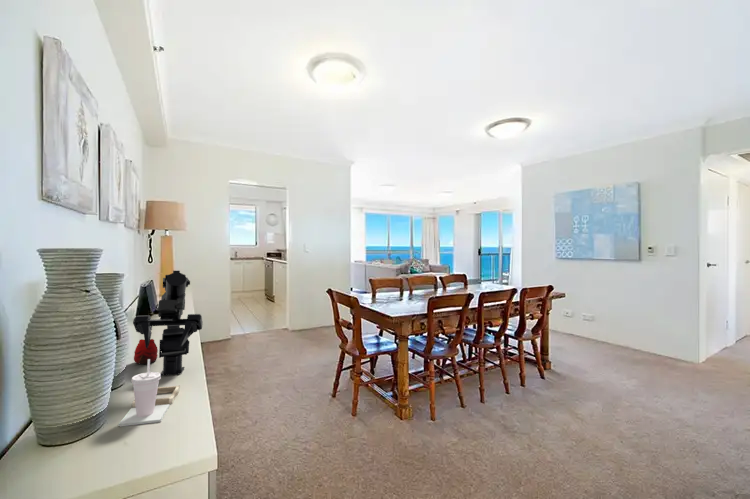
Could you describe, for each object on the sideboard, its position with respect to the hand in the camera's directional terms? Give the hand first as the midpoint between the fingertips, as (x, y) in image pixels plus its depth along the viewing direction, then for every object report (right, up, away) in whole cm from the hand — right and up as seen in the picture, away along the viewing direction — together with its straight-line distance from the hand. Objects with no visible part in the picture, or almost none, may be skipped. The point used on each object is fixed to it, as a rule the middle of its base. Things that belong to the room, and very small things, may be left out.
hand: (164, 346), depth 105 cm
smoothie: (+5, -13, -16) cm, 21 cm away
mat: (+5, -14, -16) cm, 21 cm away
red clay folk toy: (-23, -14, +26) cm, 37 cm away
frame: (+1, -14, -5) cm, 15 cm away
